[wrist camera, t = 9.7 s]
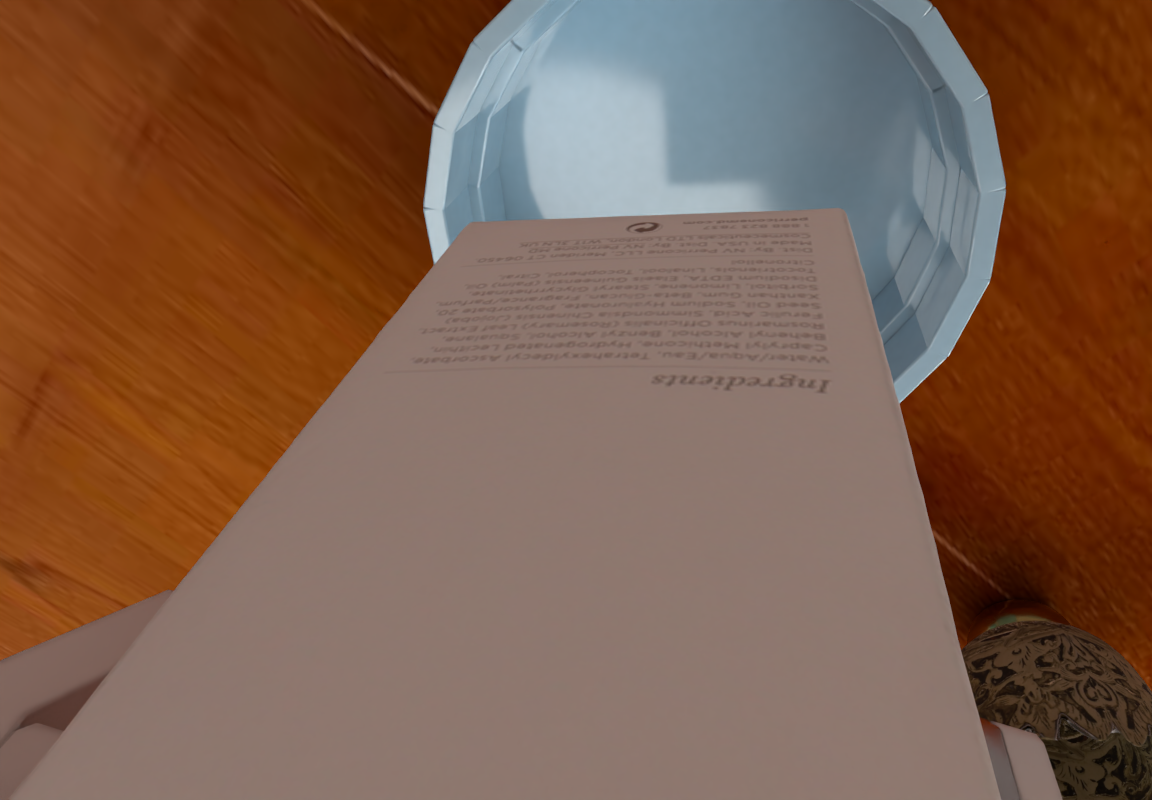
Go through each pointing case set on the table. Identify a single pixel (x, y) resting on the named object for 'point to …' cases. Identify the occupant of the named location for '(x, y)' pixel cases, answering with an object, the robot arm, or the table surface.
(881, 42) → the bowl
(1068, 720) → the cup
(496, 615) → the small box
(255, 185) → the table surface
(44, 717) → the robot arm
